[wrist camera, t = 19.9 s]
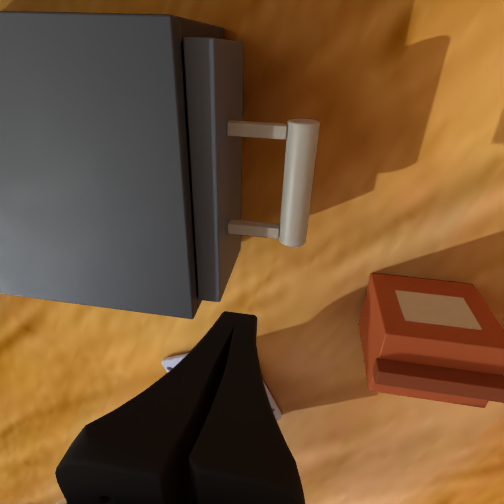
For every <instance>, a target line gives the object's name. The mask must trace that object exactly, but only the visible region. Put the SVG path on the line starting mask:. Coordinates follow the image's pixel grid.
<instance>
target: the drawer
mask: <svg viewBox="0 0 504 504" xmlns="http://www.w3.org/2000/svg"><path fill="white" fill-rule="evenodd" d="M183 50H184V56H181V58H182V73H183V89H184V105H185V121H186V137H187V152H188V168H189V184H190V200H191V216H192V231H193V247H194V251H195V250H196V266H197V283H198V299H199V300H206V301H214V302H220V301H221V298H222V295H223V293H224V290H225V288H226V285H227V283H228V280H229V277H230V275H231V272H232V270H233V267H234V264H235V262H236V259H237V257H238V254H239V252H240V247H241V235H246V236H256V237H266V238H276V239H278V238H279V241H280V243H281V244H283V245H285V246H288V247H300V246H302V245H304V244H305V242H306V234H307V226H308V218H309V210H310V201H311V193H312V185H313V177H314V168H315V160H316V152H317V144H318V135H319V127H320V122H319V121H317V120H313V119H305V118H295V119H290V120H289V121H288V124H286V123H269V122H252V121H242V109H243V42H240V41H233V40H225V39H218V38H203V37H184V38H183ZM242 137H254V138H269V139H286V138H287V140H286V153H285V166H284V179H283V192H282V205H281V218H280V224H273V223H262V222H252V221H241V178H242Z"/></svg>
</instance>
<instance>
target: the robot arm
mask: <svg viewBox="0 0 504 504" xmlns="http://www.w3.org/2000/svg"><path fill="white" fill-rule="evenodd" d="M256 334H257V317H256V316H255V315H249V314H241V313H234V312H226V311H225V312H223V313H222V314H221V316H220V317H219V318H218V320H217V321H216V322H215V324H214V325H213V326H212V327H211V329H210V330H209V331H208V332H207V334H206V335H205V336H204V337H203V338H202V339H201V340H200V341H199V343H198V344H197V345H196V346H195V347H194V348H193V349H192V350H191V351H190V352H189V353H186V354H182V355H177V356H172V357H167V358H164V359H163V361H162V365H163V367H164V368H165V369H166V371H167V372H168V373H167V374H165V375H164V376H163V377H162V378H160V379H159V380H158V381H157V382H155V383H154V384H153V385H151V386H150V387H149V388H147V389H146V390H145V391H143V392H142V393H140V394H139V395H137V396H136V397H134V398H133V399H131V400H130V401H128V402H126V403H125V404H123V405H122V406H120V407H119V408H117V409H115V410H114V411H112V412H110V413H108V414H106V415H104V416H103V417H101V418H99V419H97V420H95V421H93V422H91V423H89V424H87V425H85V427H84V428H83V429H82V431H81V432H80V433H79V435H78V436H77V437H76V439H75V440H74V441H73V443H72V444H71V446H70V447H69V449H68V451H67V452H66V454H65V455H64V457H63V459H62V460H61V462H60V463H59V465H58V467H57V469H56V472H55V474H56V478H57V482H58V484H59V486H60V489H61V491H62V493H63V495H64V497H65V499H66V501H67V503H66V504H305V499H304V493H303V489H302V484H301V480H300V476H299V473H298V469H297V465H296V461H295V459H294V458H293V456H292V454H291V452H290V450H289V448H288V446H287V444H286V442H285V439H284V437H283V435H282V433H281V431H280V428H279V426H278V423H277V421H276V420H279V419H281V415H282V414H281V411H280V410H279V408H278V406H277V404H276V402H275V401H274V399H273V397H272V395H271V393H270V392H269V390H268V388H267V386H266V384H265V383H264V381H263V379H262V375H261V370H260V366H259V360H258V354H257V347H256Z"/></svg>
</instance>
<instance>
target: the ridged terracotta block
mask: <svg viewBox="0 0 504 504" xmlns="http://www.w3.org/2000/svg"><path fill="white" fill-rule="evenodd" d="M359 329H360V336H361V342H362V349H363V355H364V362H365V368H366V375H367V381H368V388H369V391H374V392H381V393H388V394H394V395H401V396H408V397H414V398H421V399H428V400H435V401H441V402H448V403H455V404H461V405H468V406H475V407H481V408H485V406H486V405H487V403H488V401H495V402H502V403H504V330H503V329H502V327H501V326H500V324H499V323H498V321H497V320H496V318H495V317H494V315H493V314H492V312H491V311H490V309H489V308H488V306H487V305H486V304H485V302H484V301H483V299H482V298H481V296H480V295H479V293H478V292H477V290H476V289H475V287H474V286H473V284H468V283H459V282H449V281H440V280H431V279H422V278H413V277H403V276H394V275H385V274H376V273H371V274H370V279H369V283H368V287H367V291H366V295H365V300H364V304H363V308H362V312H361V316H360V320H359Z"/></svg>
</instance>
